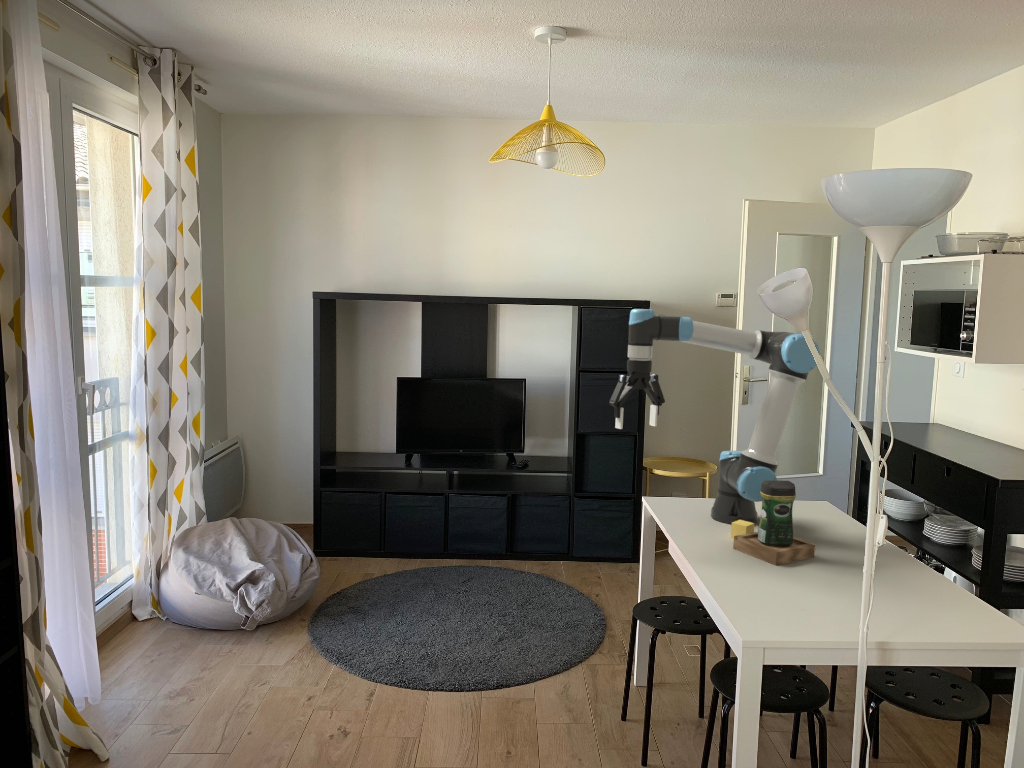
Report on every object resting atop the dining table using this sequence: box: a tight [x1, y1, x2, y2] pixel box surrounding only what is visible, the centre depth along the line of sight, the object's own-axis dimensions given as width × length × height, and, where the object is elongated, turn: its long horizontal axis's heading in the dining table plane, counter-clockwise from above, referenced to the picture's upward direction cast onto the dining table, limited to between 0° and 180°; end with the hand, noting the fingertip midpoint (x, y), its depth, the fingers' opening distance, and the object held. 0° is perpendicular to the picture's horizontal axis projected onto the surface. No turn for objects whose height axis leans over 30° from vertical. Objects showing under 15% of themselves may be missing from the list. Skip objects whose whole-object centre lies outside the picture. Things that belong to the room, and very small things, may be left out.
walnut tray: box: [732, 531, 816, 566], centre depth 231 cm, size 16×16×4 cm
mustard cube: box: [730, 520, 756, 540], centre depth 244 cm, size 5×5×5 cm
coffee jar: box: [757, 479, 797, 546], centre depth 230 cm, size 10×8×19 cm
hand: (636, 427), depth 246 cm, fingers open, 13 cm apart
